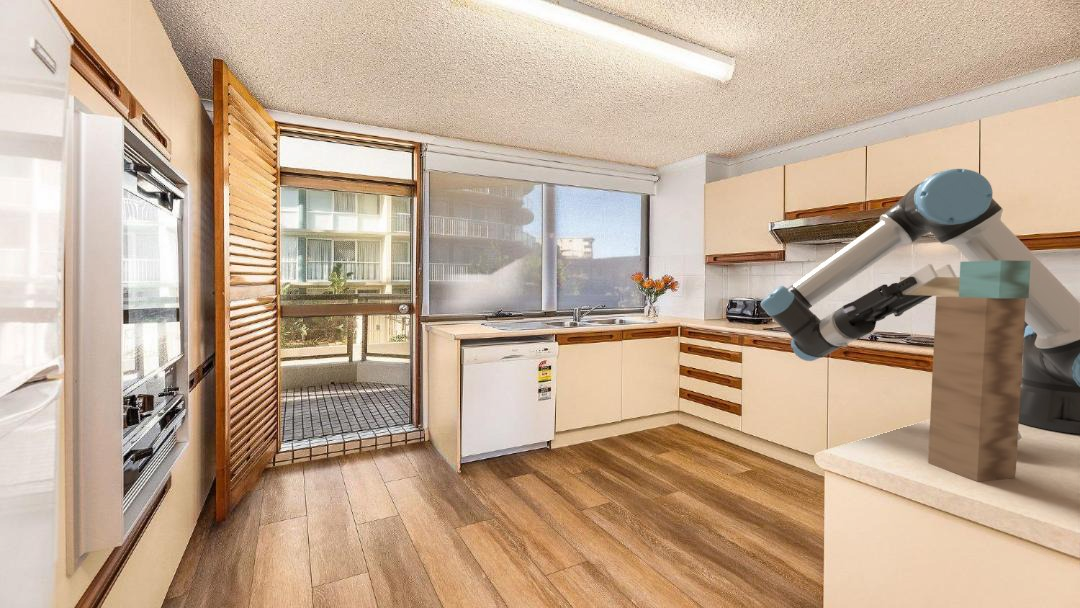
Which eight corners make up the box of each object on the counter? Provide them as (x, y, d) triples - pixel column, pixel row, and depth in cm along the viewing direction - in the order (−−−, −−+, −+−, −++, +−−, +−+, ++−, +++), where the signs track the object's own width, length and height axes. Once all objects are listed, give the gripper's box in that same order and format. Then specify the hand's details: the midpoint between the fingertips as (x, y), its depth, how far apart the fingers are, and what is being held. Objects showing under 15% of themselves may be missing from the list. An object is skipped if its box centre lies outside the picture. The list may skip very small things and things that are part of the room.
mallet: (919, 294, 94) (920, 264, 93) (1028, 298, 76) (1030, 260, 76) (893, 294, 93) (895, 263, 92) (998, 298, 75) (1000, 260, 75)
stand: (964, 459, 87) (972, 296, 85) (1015, 477, 79) (1025, 298, 77) (928, 462, 85) (936, 296, 83) (976, 481, 77) (986, 298, 76)
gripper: (885, 338, 107) (989, 288, 86) (822, 340, 104) (914, 289, 83) (871, 308, 110) (968, 254, 89) (810, 309, 107) (896, 252, 86)
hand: (942, 271), depth 86 cm, fingers closed on mallet, 3 cm apart
